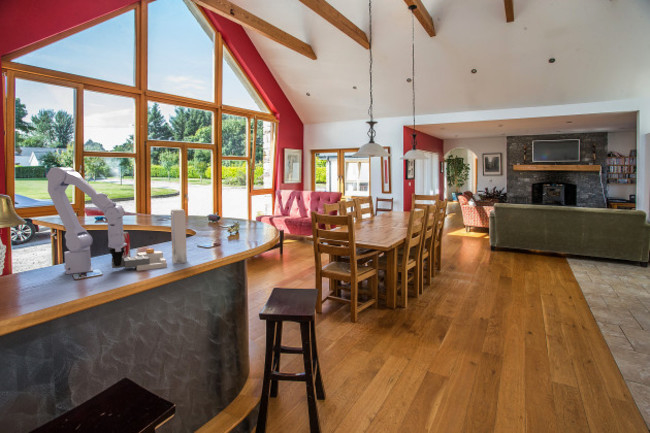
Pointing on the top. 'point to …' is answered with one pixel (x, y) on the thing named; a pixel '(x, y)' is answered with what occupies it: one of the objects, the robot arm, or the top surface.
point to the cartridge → (132, 261)
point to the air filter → (178, 236)
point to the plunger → (149, 250)
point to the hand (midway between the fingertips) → (117, 265)
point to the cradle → (153, 261)
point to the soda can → (126, 247)
